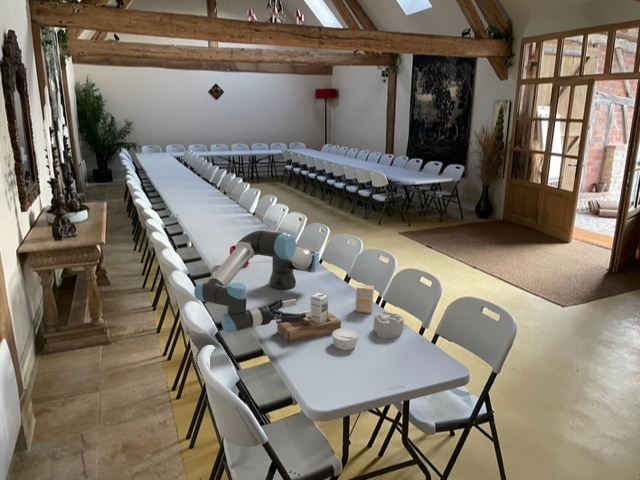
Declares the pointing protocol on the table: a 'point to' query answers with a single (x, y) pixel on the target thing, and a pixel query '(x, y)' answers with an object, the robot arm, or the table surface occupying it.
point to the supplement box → (364, 298)
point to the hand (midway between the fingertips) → (303, 307)
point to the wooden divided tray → (307, 328)
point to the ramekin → (345, 338)
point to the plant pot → (233, 250)
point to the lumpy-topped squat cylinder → (388, 324)
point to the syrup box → (319, 308)
